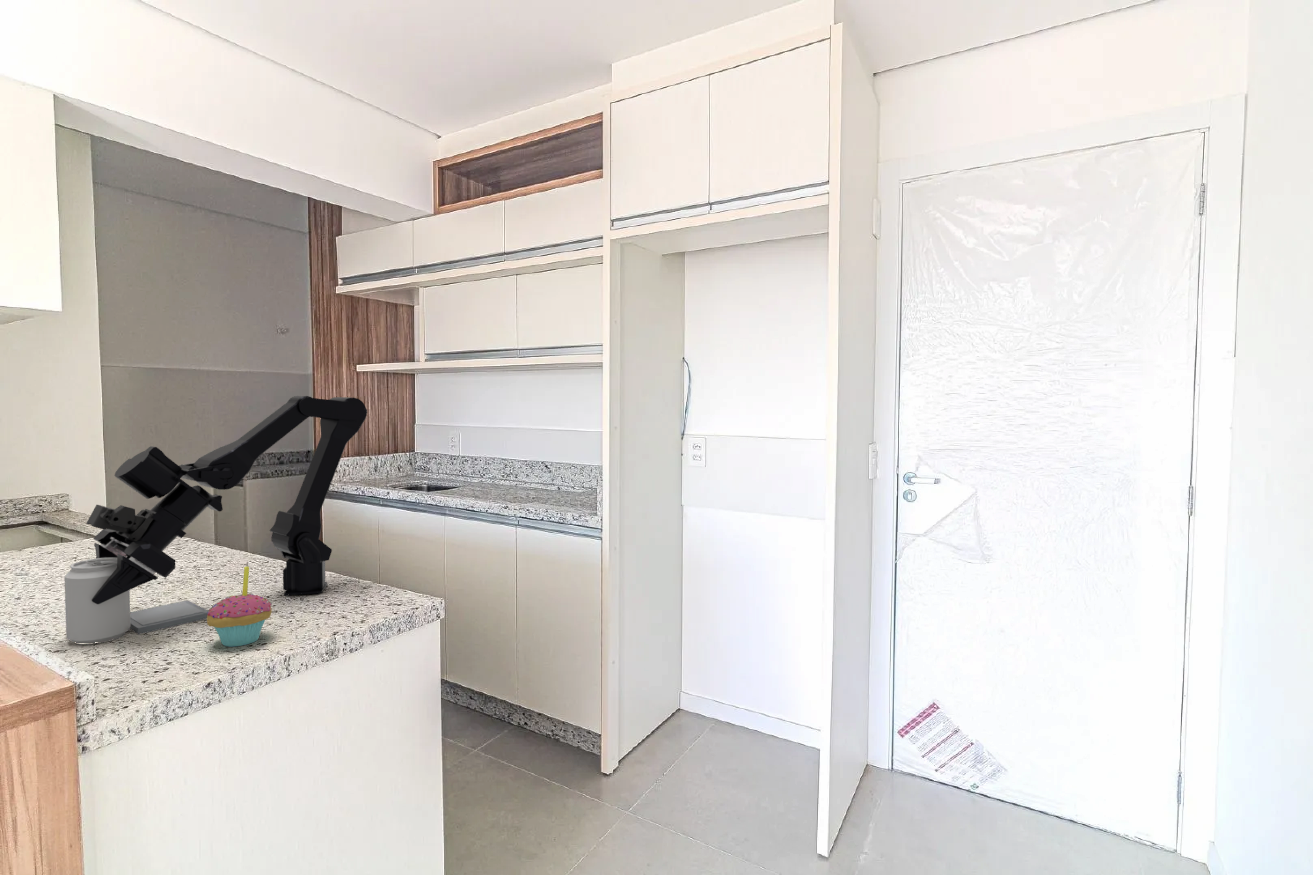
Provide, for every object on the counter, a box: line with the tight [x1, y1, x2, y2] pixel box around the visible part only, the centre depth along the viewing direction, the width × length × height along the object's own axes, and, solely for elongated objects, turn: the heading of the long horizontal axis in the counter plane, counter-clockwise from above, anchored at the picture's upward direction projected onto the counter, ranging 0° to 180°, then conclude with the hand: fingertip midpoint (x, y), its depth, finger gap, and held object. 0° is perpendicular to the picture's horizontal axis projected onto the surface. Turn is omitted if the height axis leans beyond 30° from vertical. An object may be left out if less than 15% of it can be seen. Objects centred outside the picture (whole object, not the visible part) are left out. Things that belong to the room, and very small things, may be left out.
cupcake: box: [206, 560, 273, 648], centre depth 98 cm, size 9×8×12 cm
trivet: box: [129, 599, 210, 635], centre depth 107 cm, size 10×10×1 cm
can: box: [64, 558, 131, 643], centre depth 99 cm, size 8×8×12 cm
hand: (86, 597), depth 97 cm, fingers closed on can, 7 cm apart
